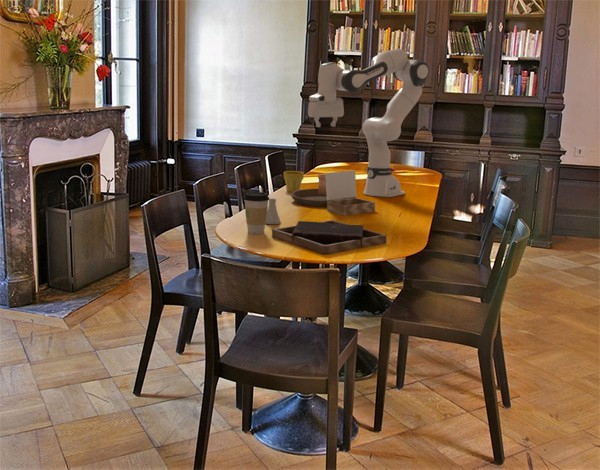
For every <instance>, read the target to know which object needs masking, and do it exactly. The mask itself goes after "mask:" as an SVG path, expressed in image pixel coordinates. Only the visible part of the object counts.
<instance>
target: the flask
mask: <svg viewBox="0 0 600 470" xmlns="http://www.w3.org/2000/svg"><path fill="white" fill-rule="evenodd" d="M276 202H277V199H276V198H269V200H268V209H267V217H266V224H265V225H271V226H272V225H280V224H281V223H282V222H281V219H280V216H279V212H278V209H277V205H276Z"/></svg>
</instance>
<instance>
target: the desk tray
mask: <svg viewBox="0 0 600 470" xmlns="http://www.w3.org/2000/svg"><path fill="white" fill-rule="evenodd" d="M321 222H322V223H330V224H346V222H345V223H344V222H340V221H337V220H334V219H330V220H324V221H321ZM295 227H296V225H290V226H283V227H277V228H272V229H271V238H274V239H277V240H280V241H282V242H286V243H289V244H292V245H294V246H297V247H300V248H304V249H307V250H310V251H312V252H314V253H317V254H321V255H325V256H326V255H330V254H334V253H341V252H345V251H351V250H356V249H363V248H367V247H373V246H378V245H383V244H386V243H387V236H388V235H387V234H383V233H380V232H376V231H373V230H370V229H366V228H363V234H362V235H363V238H362V247H361V240H351V241H346V242H340V243H335V244H329V245H328V244H320V243H317V242H314V241H310V240H307V239H304V238H301V237H298V236H293V242H292V233H293V231H294V229H295Z"/></svg>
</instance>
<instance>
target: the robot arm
mask: <svg viewBox="0 0 600 470" xmlns="http://www.w3.org/2000/svg"><path fill="white" fill-rule="evenodd" d="M391 74H392V76H393V78H394V79H395V80H396V81H399V82H402V86H401V87H400V89H399V90H398V91H397V92H396V93H395V94H394V96H393V97H392V98H391V100H390V101H389V102H388V103H387V105H386V112H385V114H384V115H383V116H382V117H378V116H377V117H376V116H373V117H370V118H367V119H366V120H365V121H364V122H363V123H362V127H361V128H362V133H363V134H364V136H365V138H366V143H367V147H368V149H367V150H368V162H367V163H368V165H367V168H366V173H367V176H366V181H365V188H364V189H363V194H364V195H366V196H372V197H385V198H391V197H393V198H394V197H396V196H400V195H405V193H406V192H405V191H404V190H402V189H401V185H402V184H401V182H400V181H399V180H398V178H396V177H395V176H394V175H393V173H396V168H395V167H391V154H392V153H391V150H390V148H389V147H388V142H391V141H395V140H398V139H399V137H400V135H401V133H402V128H401V126H402V123H403V121H404V120H405V118H406V117H407V116H408V114H409V113H410V112H411V110H412V109H413V107H415V106H416V104H417V103H418V101H419V99H420V97H421V96H422V94H423V88H422V85H424V84H425V82H426V80H427V79H428V77H429V75H430V66H429V64H428V63H426V62H425V61H422V60H420V59H418V60H417V59H409V58H408V55H407V52H406V51H405V50H404V49H403V48H394V49H389V50H386V51H383V52H380V53H378V54H377V55H375V56H374V57H372V58H371V60H370V66H368V67H366V68H364V69H361V70H359V69H351V70H347V69H346V70H345V69H344V68H342V67H340V66H339V65H338V64H337V63H336V62H331V61H330V62H325V63H322V64H321V65H320V66H319V70H318V76H317V77H318V78H317V79H318V80H317V81H318V88H317V93H315V94H312V95H309V97H308V100H309V103H308V107H307V116H308V117H309V118H314V122H315V128H321V126H322V123H321V122H320V121H319V120H320V118H332V119H333V120H332V121H331V122H330V126H331V127H336V123H337V121H338V118H342V117H343V116H344V115H345V111H344V110H345V109H344V108H345V107H344V99H343V98H342V97H337V90H338V91H343V92H351V93H357V92H359V91H361V90H362V88H363V87H364V86H365V85H366V84H368V83H370V82H372V81H374V80H376V79H378V78H380V77H381V78H382V77H386V76H389V75H391Z"/></svg>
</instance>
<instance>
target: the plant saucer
mask: <svg viewBox="0 0 600 470" xmlns="http://www.w3.org/2000/svg"><path fill="white" fill-rule="evenodd" d="M290 196H291V198H292V200H293V201H295V203H296V204H298V205H301V206H304V207H305V206H306V207H307V206H308V207H309V206H310V207H321V208H327V202H329V201H330V200H327V194H326V195H323V194H318V188H305V189H300V190H297V191H294V192H291V193H290ZM353 198H356V197H349V198H341V199H333V200H332V201H337V200H345V199H353Z"/></svg>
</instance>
